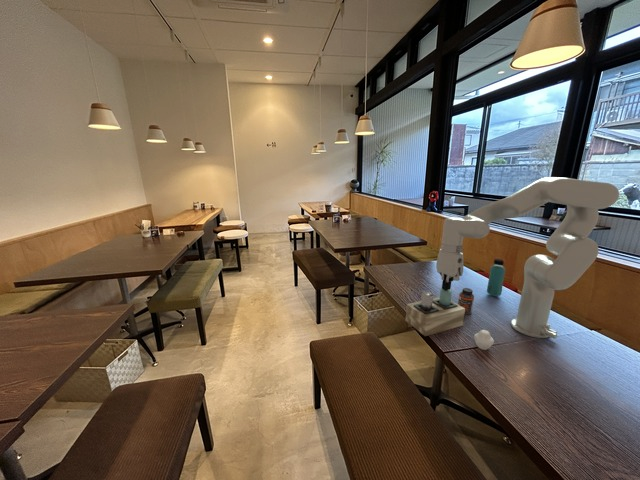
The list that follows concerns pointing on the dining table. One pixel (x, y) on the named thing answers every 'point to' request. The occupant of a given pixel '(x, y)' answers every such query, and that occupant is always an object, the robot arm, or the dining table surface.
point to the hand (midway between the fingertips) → (445, 289)
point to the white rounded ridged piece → (483, 339)
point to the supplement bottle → (466, 300)
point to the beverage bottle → (496, 278)
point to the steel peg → (426, 301)
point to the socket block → (434, 317)
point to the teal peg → (445, 297)
